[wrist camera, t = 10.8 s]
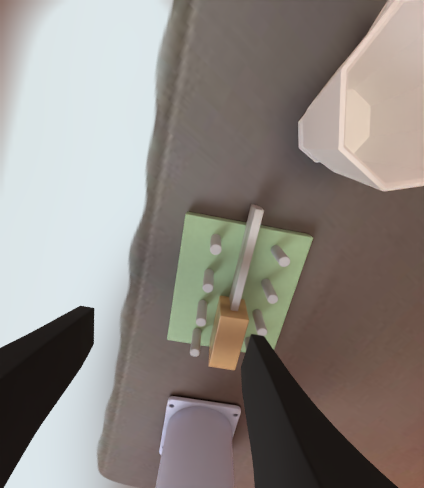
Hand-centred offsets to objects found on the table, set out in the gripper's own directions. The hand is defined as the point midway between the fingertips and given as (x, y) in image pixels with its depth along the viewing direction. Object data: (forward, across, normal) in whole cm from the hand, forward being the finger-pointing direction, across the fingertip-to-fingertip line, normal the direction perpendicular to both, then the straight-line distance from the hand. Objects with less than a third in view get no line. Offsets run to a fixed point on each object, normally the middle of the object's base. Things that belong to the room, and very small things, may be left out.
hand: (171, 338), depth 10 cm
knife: (+8, -4, +2) cm, 9 cm away
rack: (+9, -4, +2) cm, 10 cm away
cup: (+10, -8, -13) cm, 18 cm away
